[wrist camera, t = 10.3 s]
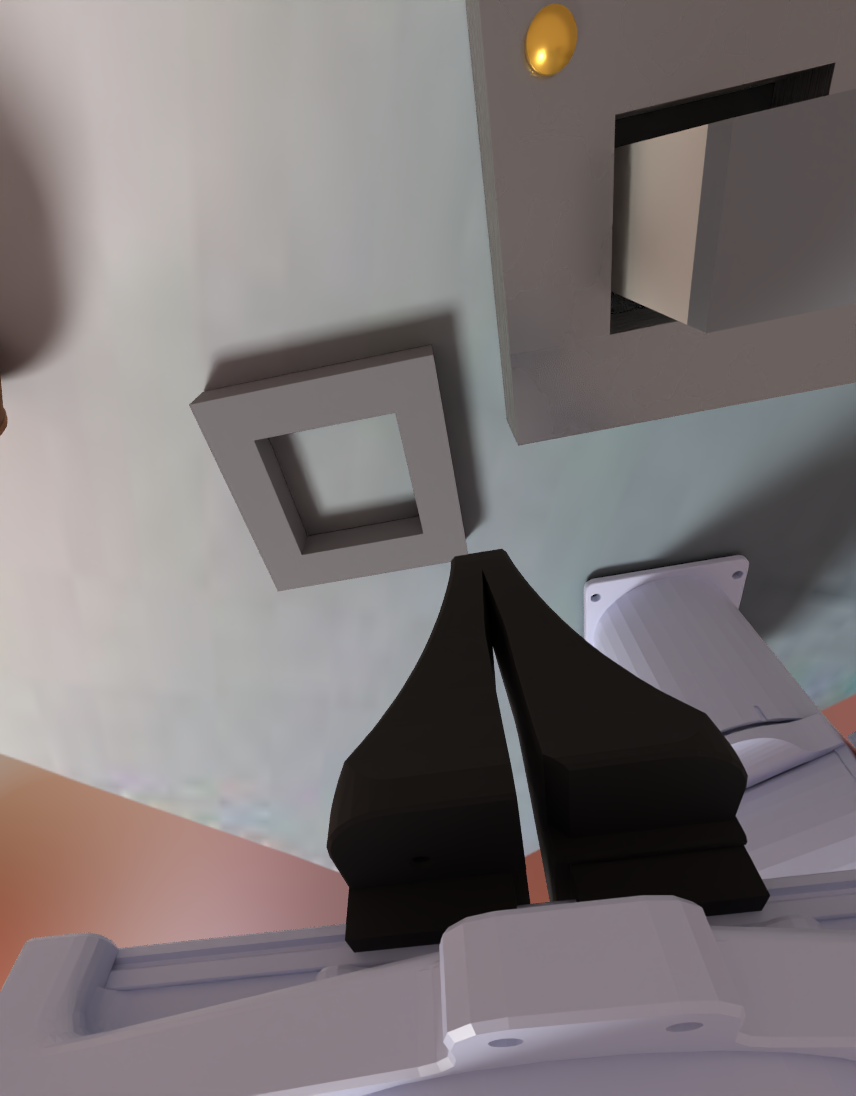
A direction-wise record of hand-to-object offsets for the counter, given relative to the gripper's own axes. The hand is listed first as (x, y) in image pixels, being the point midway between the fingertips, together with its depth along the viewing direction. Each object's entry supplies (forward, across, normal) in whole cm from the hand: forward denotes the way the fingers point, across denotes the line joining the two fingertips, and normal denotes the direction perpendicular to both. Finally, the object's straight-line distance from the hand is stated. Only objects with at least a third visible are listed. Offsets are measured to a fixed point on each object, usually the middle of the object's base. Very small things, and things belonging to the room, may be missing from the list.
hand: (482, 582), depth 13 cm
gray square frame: (+9, +5, +1) cm, 11 cm away
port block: (+9, -8, -6) cm, 14 cm away
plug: (+9, -8, -7) cm, 14 cm away
